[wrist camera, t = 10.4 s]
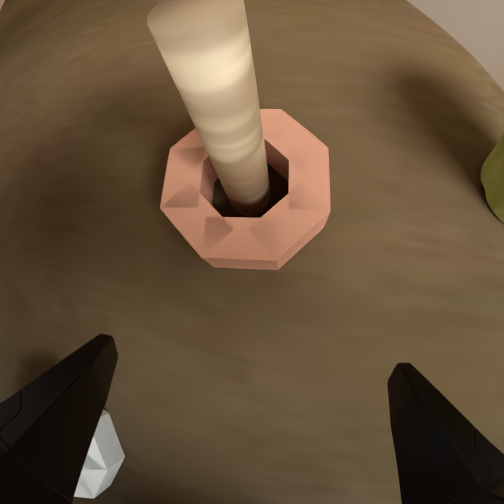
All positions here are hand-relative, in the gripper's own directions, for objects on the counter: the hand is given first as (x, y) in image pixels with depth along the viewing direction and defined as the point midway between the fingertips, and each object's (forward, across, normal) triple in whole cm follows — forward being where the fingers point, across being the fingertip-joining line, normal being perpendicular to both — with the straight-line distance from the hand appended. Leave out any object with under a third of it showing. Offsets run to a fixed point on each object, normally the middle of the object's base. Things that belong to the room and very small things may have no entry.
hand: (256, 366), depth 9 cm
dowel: (+13, +1, -1) cm, 13 cm away
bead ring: (+13, +1, -1) cm, 13 cm away
